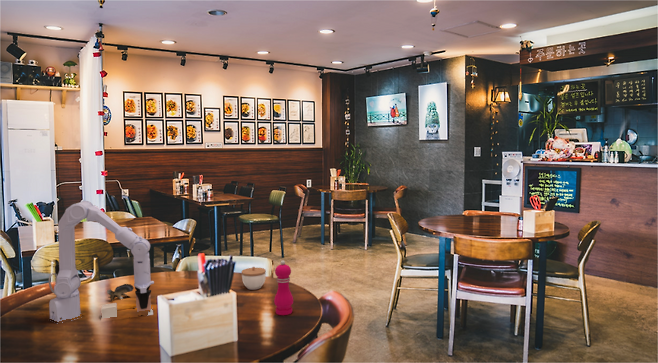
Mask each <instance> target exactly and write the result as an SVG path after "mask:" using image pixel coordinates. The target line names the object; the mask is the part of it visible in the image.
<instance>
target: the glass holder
mask: <svg viewBox="0 0 658 363" xmlns="http://www.w3.org/2000/svg"><path fill="white" fill-rule="evenodd" d="M76 265H77V264H76V263H75V268H76V269H77V266H76ZM54 271H55V272H53V273H50V274H49V276H48V285H49V289H50V291H51V293H53V294H54V295H55V298H56V297H57V295H56V294H55V292H54V288H53V287H52V283H51V280H52V279H51V278H52V276H53V275H54V276H55V278H54V281H55V284H56V282H57V276H58V273H59V264H57V265H55V266H54ZM55 284H54V285H55Z"/></svg>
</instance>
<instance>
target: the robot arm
mask: <svg viewBox="0 0 658 363" xmlns="http://www.w3.org/2000/svg"><path fill="white" fill-rule="evenodd" d="M83 220H85V221H86V222H96V223H98V224H99V225H102V227H104V228H105V229H107V230H108V231H110V232H111V233H113V234H114V238H115V240H116V241H118V242H119V243H121V244H122V245H123V246H124V247H126V248H127V249H129V250H130V252H131V254H132V255H133V277H134V278H133V279H134V280H133V282H134V284H133V287H134V289H135V292H134V293H135V297H136V296H137V297H138V300H139V304H140V308H141V309H146V308H147V306H148V299H149V296H150V297H151V293H152V289H150V288H151V285H154V284H155V281H154V280H151V259H150V252H149V251H150V249H151V243H150V241H148V239H146V238H143V236H141V235H138V234H136V233H135V232H134V231H133V228H131V227H127V226H120V225H119V224H118V223H117V222H116V221H114V220H113V219H112V218H111V217H110V216H108V214H106V213H105V212H104V211H103V210H102V209H100V207H98V206H96V205H95V204H93V203H92V202H90V201H88V200H81V201H80V202H77V203H73V204H71V205H70V206H68V207H66V209H65V211H64V213H63V215H62V216H61V218H60V219H59V220H58V224H57V227H58V230H57V232H58V233H57V234H58V263H59V264H58V265H59V273H58V276H57V282H56V284H54V287H53V291H54V292H55V294H56V295H57V297H56V295H55V294H54V295H55V298H51V299H50V300H49V304H48V305H49V306H48V308H49V319H52V320H54V321H57V322H59V321H62V320H66V319H72V318H75V317H78V316H80V314H81V300H80V298H81V297H80V291H79V288H80V287H81V285H82V284H81V283H82V281H81V278H80V276H79V272H78V270H77V267H76V268H75V264H76V239H75V238H76V232H75V227H76V226H77V225H78V224H79V223H81V221H83ZM60 318H61V319H60Z"/></svg>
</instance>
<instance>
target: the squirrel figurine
mask: <svg viewBox="0 0 658 363" xmlns="http://www.w3.org/2000/svg"><path fill="white" fill-rule="evenodd" d="M134 289H135V286H134V285H132V284H129V283H124V284H122V285H119V286H116V288H115V289H114V290H112V289H108V290H107V291H106V293H107V295H109V296H108V297H107V298H108V299H110V302H113V301H114V300H115V299H116V298H117V299H120V300H121V299H122V300H124V298H123V297H127V296H129V295H128V294H126V293H131V292H133V290H134ZM112 300H113V301H112Z"/></svg>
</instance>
